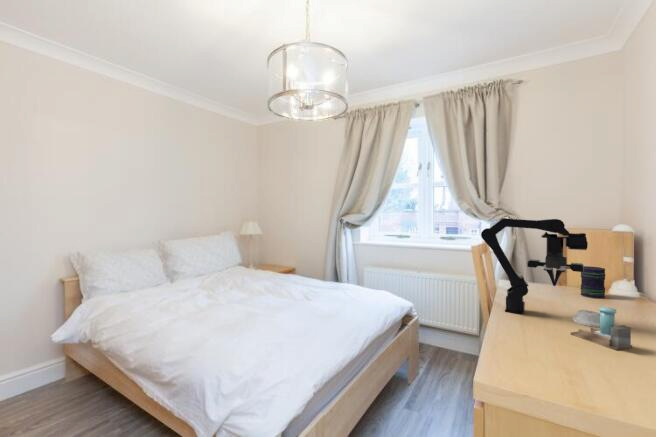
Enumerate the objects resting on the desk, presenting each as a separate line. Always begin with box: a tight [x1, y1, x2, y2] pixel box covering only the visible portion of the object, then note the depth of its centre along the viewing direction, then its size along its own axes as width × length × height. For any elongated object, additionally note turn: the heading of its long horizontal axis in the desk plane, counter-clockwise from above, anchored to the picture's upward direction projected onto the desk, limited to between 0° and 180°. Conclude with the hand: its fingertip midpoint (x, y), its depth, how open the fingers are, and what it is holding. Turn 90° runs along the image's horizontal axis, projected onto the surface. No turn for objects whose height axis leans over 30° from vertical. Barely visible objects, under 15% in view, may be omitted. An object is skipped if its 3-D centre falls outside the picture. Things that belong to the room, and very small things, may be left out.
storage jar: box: [580, 265, 606, 300], centre depth 162 cm, size 10×10×15 cm
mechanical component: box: [572, 309, 600, 328], centre depth 122 cm, size 10×4×10 cm
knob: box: [595, 306, 617, 339], centre depth 103 cm, size 5×4×11 cm
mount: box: [570, 324, 633, 351], centre depth 105 cm, size 14×8×7 cm, turn 17°
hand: (554, 285), depth 129 cm, fingers closed
